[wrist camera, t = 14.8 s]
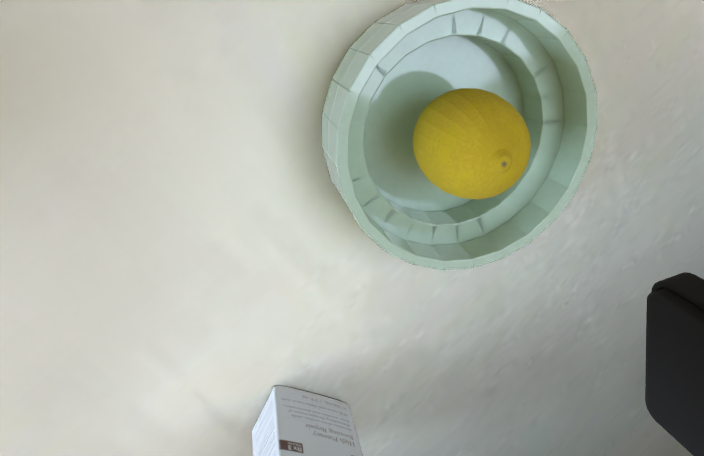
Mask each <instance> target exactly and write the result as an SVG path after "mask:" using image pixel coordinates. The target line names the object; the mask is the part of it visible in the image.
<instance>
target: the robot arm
mask: <svg viewBox="0 0 704 456" xmlns="http://www.w3.org/2000/svg"><path fill="white" fill-rule="evenodd" d="M645 401H646V406H647V409H648V411H649V413H650V414H651V416H652V417H653V418H654V419H655V421H656V422H657V423H659V424H660V425H661V426H662V427H663V428H664V429H665V430H666V431H667V432H668V433H669V434H671V435H672V436H673V437H674V438H675V439H676V440H677V441H678V442H679V443H680V444H681V445H683V446H684V447H685V448H686V449H687V450H688V451H689V452H690V453H691V454H692V455H693V456H704V280H703V279H701V278H700V277H698V276H696V275H694V274H691V273H681V274H678V275H676V276H673V277H670V278H667V279H665V280H662V281H659V282H657V283H655V284H654V286H653V287H652V292H651V293H650V294H649V295H648V297H647V326H646V388H645Z"/></svg>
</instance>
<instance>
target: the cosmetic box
mask: <svg viewBox="0 0 704 456" xmlns="http://www.w3.org/2000/svg"><path fill="white" fill-rule="evenodd" d="M252 439H253V456H363V454H362V451H361V447H360V443H359V439H358V435H357V432H356V428H355V425H354V421H353V417H352V413H351V410H350V406H349V405H348V404H346V403H344V402H341V401H338V400H335V399H332V398H328V397H325V396H321V395H318V394H314V393H310V392H306V391H302V390H298V389H293V388H289V387H284V386H275V387H274V388H273V390H272V392H271V394H270V396H269V398H268V400H267V402H266V404H265V406H264V408H263V410H262V412H261V414H260V416H259V418H258V420H257V422H256V424H255V426H254V428H253V431H252Z"/></svg>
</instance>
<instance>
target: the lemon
mask: <svg viewBox="0 0 704 456" xmlns="http://www.w3.org/2000/svg"><path fill="white" fill-rule="evenodd" d="M413 149H414V155H415V158H416V160H417V163H418V165H419V168H420V169H421V170H422V172H423V173H424V174H425V176H426V177H427V179H428V180H429V181H430V182H431V183H433V184H434V185H435V186H437V187H438V188H439V189H441V190H442V191H444V192H446V193H449V194H452V195H454V196H457V197H460V198H466V199H484V198H490V197H494V196H496V195H498V194H501V193H503V192H504V191H506V190H507V189H509V188H510V187H511V186H513V185H514V184H515V183H516V182H517V181H518V179H519V178H520V177H521V176H522V174H523V172H524V171H525V169H526V167H527V164H528V161H529V158H530V149H531V141H530V134H529V131H528V128H527V126H526V124H525V121H524V119H523V118H522V117H521V115H520V114H519V113H518V112H517V110H516V109H515V108H514V107H513V106H512V105H511V104H510V103H509V102H507V101H506V100H504V99H503V98H501V97H500V96H498V95H497V94H495V93H492V92H488V91H485V90H482V89H477V88H460V89H456V90H452V91H448V92H446V93H444V94H442V95H440V96H439V97H437V98H435V99H434V100H433V101H432V102H431V103H430V104H428V105H427V106H426V107H425V109H424V110H423V112H422V113H421V115H420V116H419V118H418V120H417V123H416V126H415V128H414V135H413Z"/></svg>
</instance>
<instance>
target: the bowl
mask: <svg viewBox="0 0 704 456" xmlns="http://www.w3.org/2000/svg"><path fill="white" fill-rule="evenodd" d="M332 79H333V80H331V83H330V87H329V90H328V94H327V98H326V101H325V105H324V109H323V113H322V149H323V152H324V156H325V160H326V164H327V168H328V172H329V176H330V178H331V180H332V181H333V183H334V185H335V186H336V188H337V190H338V192H339V193H340V195H341V197H342V198H343V200H344V202H345V203H346V205H347V207H348V208H349V210H350V212H351V213H352V215H353V216H354V218H355V220H356V221H357V223H358V225H359V226H360V228H361V229H362V230H363V231H364V232H365V233H366V234H367V235H368V236H369V237H370V238H371V239H372V240H373V241H374V242H376V243H377V244H378V245H379V246H380V247H381V248H382V249H383V250H385V251H386V252H388V253H390V254H392V255H394V256H396V257H398V258H400V259H402V260H404V261H406V262H408V263H410V264H413V265H418V266H423V267H428V268H433V269H439V270H451V269H465V268H474V267H477V266H480V265H484V264H487V263H490V262H493V261H496V260H499V259H502V258H505V257H506V256H508V255H510V254H511V253H513V252H515V251H517V250H518V249H520V248H522V247H523V246H525V245H527V244H529V243H530V242H531V241H533V240H534V239H535V238H536V237H537V236H538V235H539V234H540V233H542V232H543V231H544V230H545V229H546V228H547V227H548V226H549V225H550V224H551V223H552V222H554V221H555V220H556V219H557V218H558V216H559V215H560V213H561V212H562V211H563V209H564V208H565V206H566V205H567V204H568V202H569V201H570V200H571V198H572V197H573V195H574V194H575V193H576V190H577V188H578V186H579V184H580V182H581V179H582V177H583V175H584V173H585V170H586V168H587V166H588V164H589V161H590V160H589V159H590V158H591V154H592V149H593V144H594V139H595V134H596V129H597V99H596V92H595V91H596V90H595V86H594V83H593V80H592V76H591V73H590V69H589V66H588V63H587V60H586V58H585V56H584V54H583V53H582V51H581V50H580V48H579V47H578V45H577V44H576V42H575V41H574V39H573V38H572V36H571V34H570V33H569V31H567V29H566V28H565V27H563V26H562V25H561V24H560V23H558V22H557V21H556V20H555V19H553V18H552V17H551V16H550V15H549V14H547V13H546V12H545V11H544V10H542V9H540V8H539V7H536V6H533V5H531V4H528V3H526V2H523V1H520V0H419V1H415V2H412V3H408V4H406V5H403V6H401V7H400V8H398V9H396V10H394V11H393V12H391V13H389V14H388V15H386V16H384V17H383V18H381V19H379V20H377V21H376V22H375V23H373V24H372V25H371V26H370V27H369V28H368V29H367V30H366V31H365V32H364V33H363V35H362V36H361V37H360V38H359V39H358V40H357V41H356V42H355V43H354V44H353V45H352V46H351V47H350V49H349V50H348V51H347V53H346V55H345V56H344V58H343V60H342V62H341V63H340V65H339V67H338V69H337V70H336V72H335V74H334V76H333V77H332ZM460 88H477V89H482V90H485V91H488V92H492V93H495V94H497V95H498V96H500V97H501V98H503V99H504V100H506V101H507V102H509V103H510V104H511V105H512V106H513V107H514V108H515V109H516V110H517V112H518V113H519V114H520V115H521V117H522V118H523V119H524V121H525V124H526V126H527V128H528V131H529V134H530V141H531V149H530V158H529V161H528V164H527V167H526V169H525V171H524V172H523V174H522V176H521V177H520V178H519V179H518V181H517V182H516V183H515V184H514V185H513V186H511V187H510V188H509V189H507V190H506V191H504V192H503V193H501V194H498V195H496V196H494V197H490V198H484V199H466V198H460V197H457V196H454V195H452V194H449V193H446V192H444V191H442V190H441V189H439V188H438V187H437V186H435V185H434V184H433V183H431V182H430V181H429V180H428V179H427V177H426V176H425V174H424V173H423V172H422V170H421V169H420V168H419V165H418V163H417V160H416V158H415V155H414V149H413V135H414V128H415V126H416V123H417V120H418V118H419V116H420V115H421V113H422V112H423V110H424V109H425V107H426V106H427V105H428V104H430V103H431V102H432V101H433V100H434V99H435V98H437V97H439V96H440V95H442V94H444V93H446V92H448V91H452V90H456V89H460Z"/></svg>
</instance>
